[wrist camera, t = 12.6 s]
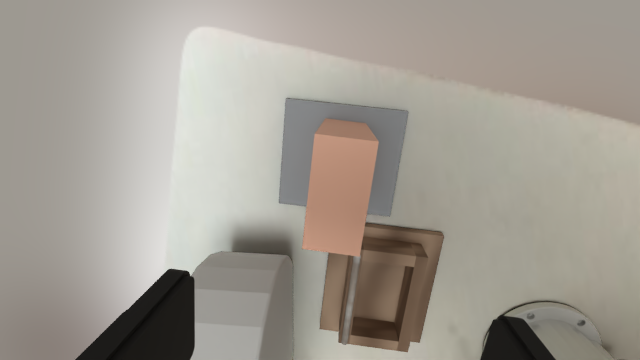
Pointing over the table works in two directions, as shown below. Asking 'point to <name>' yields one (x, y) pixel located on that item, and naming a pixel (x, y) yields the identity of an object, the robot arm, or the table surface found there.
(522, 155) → the table surface
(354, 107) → the mat
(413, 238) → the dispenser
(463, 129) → the table surface
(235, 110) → the table surface
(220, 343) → the alarm clock
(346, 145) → the salmon pink tall block
